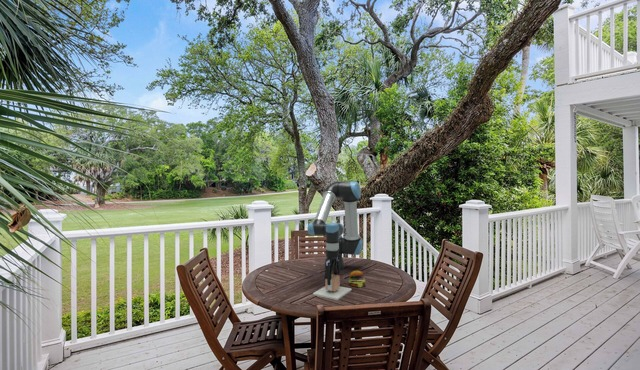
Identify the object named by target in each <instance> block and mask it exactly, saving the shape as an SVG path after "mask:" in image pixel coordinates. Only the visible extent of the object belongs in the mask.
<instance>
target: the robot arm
mask: <svg viewBox="0 0 640 370" xmlns="http://www.w3.org/2000/svg"><path fill="white" fill-rule="evenodd" d="M361 195H362V191H361V186H360V183H359V182H357V181H352V180H351V181H350V180H349V181H342V180H339V181H334V182H331V183H330V184H329V185H327V187H326V188H325V189H324V190H323V193H322V199H321V200H320V201H321V202H320V204H319V208H318V209H317V213H316V215H315V218H314V221H313V222H309V223H308V225H307V233H308V235H311V236H324V237H325V249H326V250H325V256H326V258H325V261H324V264H323V267H324V270H325V271H324V279H327V290H330V291H332V279H331V277H332V274H334V275H340V272H341V271H340V270H344V269H345V266H346V265H345V261H344V258H343V255H349V256H350V255H351V256H352V255H353V256H359V255H361V254H362V251H363V245H364V240H363V238H361V235H360V234H359V231H358V230H359V227H358V225H359V224H358V208H357V207H358V202H359V199H360V198H361V197H362V196H361ZM336 199H341V202H342V203H343V204H344V222H345V225H343V224H342V223H340V222H327V220H328V217H329V214H330V212H331V209H332V206H333V203H334V201H336ZM344 232H345V235H344V236H343V235H342V234H344Z"/></svg>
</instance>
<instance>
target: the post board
mask: <svg viewBox="0 0 640 370" xmlns="http://www.w3.org/2000/svg"><path fill="white" fill-rule="evenodd" d="M351 292H352V288H350V287H346V286H340V288H339V289H338V290H336V291H330V290H325V286H323V287H321V288H319V289H318V290H316V291H314V292H313V293H312V295H313V296H315V297H316V296H317V297H320V298H321V297H322V298H325V299H330V300H333V301H334V300H335V301H339V300H340V299H341V298H343V297H344V296H346V295H347V294H348V293H351Z"/></svg>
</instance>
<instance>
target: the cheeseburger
mask: <svg viewBox="0 0 640 370" xmlns="http://www.w3.org/2000/svg"><path fill="white" fill-rule="evenodd" d="M348 278H349V281H348V283H349V284H350V286H352V287H356V288H357V287H358V288H362V287H363V286H365V284H366V279H365V278H364V273H363V271H361V270H353V271H351V272H350V273H349V275H348Z"/></svg>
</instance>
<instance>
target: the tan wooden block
mask: <svg viewBox="0 0 640 370" xmlns="http://www.w3.org/2000/svg"><path fill="white" fill-rule="evenodd" d="M340 278H341V276H340V274H339V275H334V273H332V277H331V279H332V291H336V290H338V289H339V288H340V285H341V279H340ZM324 279H325V278H324ZM324 283H325V290H327V279H325V282H324Z"/></svg>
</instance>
